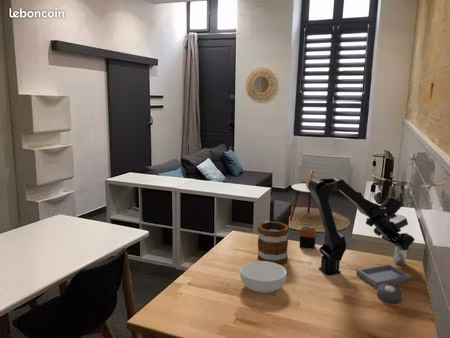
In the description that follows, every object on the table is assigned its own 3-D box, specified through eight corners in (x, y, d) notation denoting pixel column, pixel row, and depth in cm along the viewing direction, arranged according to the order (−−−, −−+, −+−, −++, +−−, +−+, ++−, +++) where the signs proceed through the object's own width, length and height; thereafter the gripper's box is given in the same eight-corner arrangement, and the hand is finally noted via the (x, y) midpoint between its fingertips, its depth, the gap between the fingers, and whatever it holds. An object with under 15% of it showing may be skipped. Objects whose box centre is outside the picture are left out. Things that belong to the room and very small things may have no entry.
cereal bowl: (291, 282, 141) (291, 265, 140) (278, 304, 126) (279, 285, 125) (249, 273, 148) (249, 257, 147) (233, 293, 133) (233, 275, 132)
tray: (376, 288, 136) (376, 282, 136) (356, 275, 146) (356, 269, 146) (410, 281, 141) (410, 275, 141) (388, 269, 151) (389, 263, 151)
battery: (314, 249, 171) (315, 229, 170) (299, 247, 174) (300, 227, 172) (315, 246, 175) (316, 225, 174) (300, 244, 178) (301, 224, 176)
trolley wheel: (388, 305, 125) (389, 295, 124) (371, 293, 132) (372, 284, 132) (406, 301, 128) (407, 291, 127) (389, 290, 135) (390, 280, 134)
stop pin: (399, 266, 154) (401, 243, 152) (391, 261, 158) (393, 239, 156) (407, 264, 156) (409, 242, 154) (399, 260, 160) (401, 238, 158)
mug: (292, 265, 155) (293, 231, 152) (260, 267, 154) (261, 232, 151) (279, 246, 174) (280, 216, 172) (251, 248, 173) (252, 217, 170)
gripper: (412, 216, 143) (433, 241, 147) (381, 203, 161) (401, 225, 165) (393, 238, 142) (414, 261, 147) (364, 222, 160) (384, 244, 165)
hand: (403, 247), depth 156 cm, fingers closed on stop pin, 4 cm apart
